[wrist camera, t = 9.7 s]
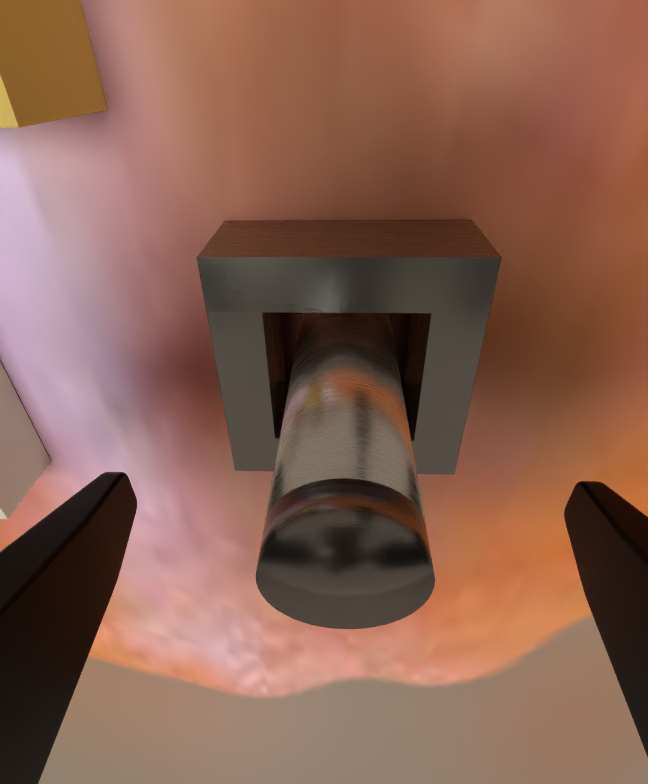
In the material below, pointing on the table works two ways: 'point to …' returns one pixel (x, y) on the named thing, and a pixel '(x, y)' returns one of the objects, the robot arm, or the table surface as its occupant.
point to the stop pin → (345, 484)
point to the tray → (17, 449)
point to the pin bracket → (348, 295)
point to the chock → (46, 63)
